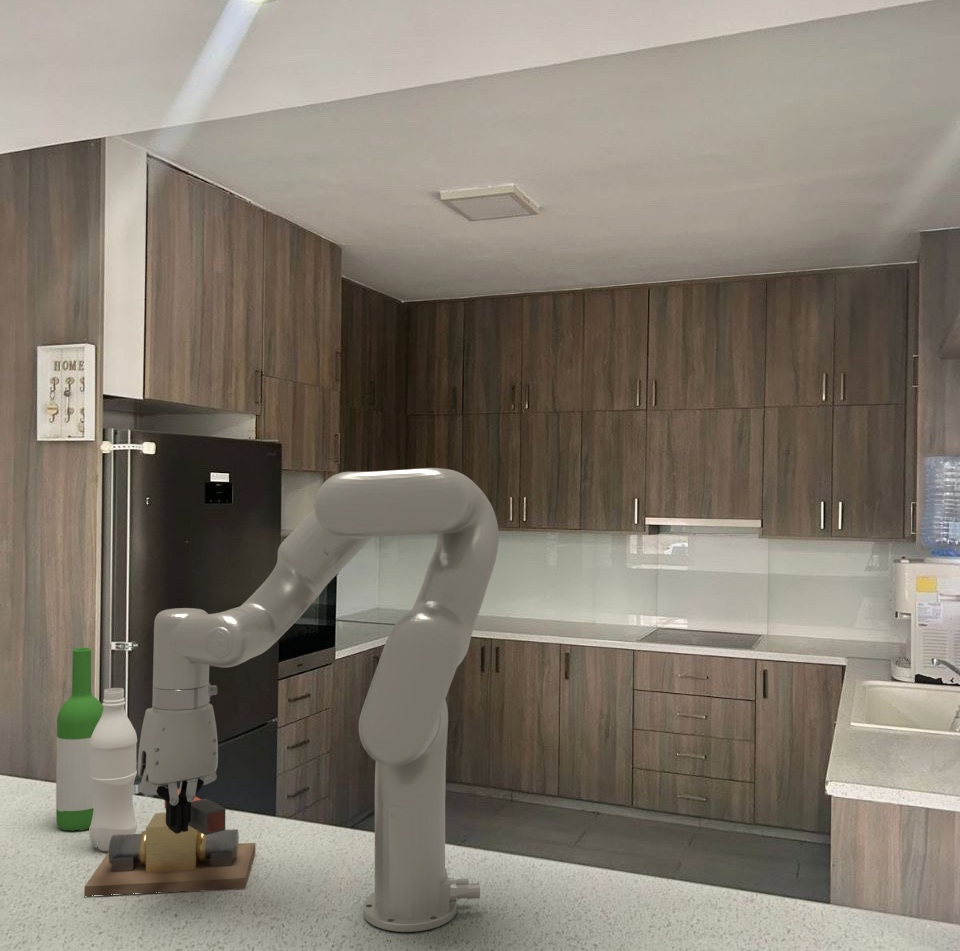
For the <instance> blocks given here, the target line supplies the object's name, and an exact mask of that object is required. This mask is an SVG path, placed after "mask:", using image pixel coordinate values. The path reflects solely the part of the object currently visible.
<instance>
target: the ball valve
mask: <svg viewBox="0 0 960 951" xmlns="http://www.w3.org/2000/svg"><path fill="white" fill-rule="evenodd" d="M239 839H240V838H239V829H238V828H237V829H234V828H233V829H225V830H224V831H220V832H216V833H212V834H208V835H204V834H202V833H201V832H199V831H197V830H195V829H194V828H192V827H190V826H188V831H186V832H183V831H182V832H181V833H178V834H176V833H174V832H173V831H172V830H170V829H169V828H168V826H167V825H166V812H157V813H154V815H153V816H152V818H151V819H150V821H149V823H148V824H147V826H146V828H145V830H143V831H141V833H135V834H125V835H113V836H112V837H111V840H110V845H109V851H108V852H109V862H110V864H112V872H125V871H134V869H135V867H136V866H137V864H138V863H140V865H146V873H156V872H175V871H195V870H196V868H197V866H198V864H199V862H207V861H208V859H211V867H223V866H232V863H233V860H234V858H237V854H238V844H239Z"/></svg>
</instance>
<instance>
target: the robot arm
mask: <svg viewBox="0 0 960 951" xmlns="http://www.w3.org/2000/svg"><path fill="white" fill-rule="evenodd" d="M313 506H314V509H313V510H312V511H311V512H310V513H308V515H307V516H306V517H305V518H304V519H303V520H301V522H300V523H299V524H298V526H297V527H295V528H294V530H293V531H292V532H290V533H289V535H288V536H287V537H286V538H285V539H284V540H283V541H282V542H281V544H280V545H279V546H278V549H277V559H276V560H277V561H276V564H275V567H274V569H273V570H272V571H271V573H270V574H269V575H268V577H267V578H266V579H265V581H264V582H263V583H262V584H261V585H260V586H259V587H258V588H257V589H256V590H255V592H253V593H252V595H250V596H249V598H247V599H246V601H244V602H243V603H242V604H241V605H240V606H238V607H234V608H230V609H227V610H224V611H220V612H216V613H208V612H207V611H205V610H204V609H201V608H193V607H191V608H190V607H182V608H180V607H179V608H167V609H164V610H161V611H159V613H157V615H155V618H154V622H153V623H154V626H153V654H152V655H153V658H152V659H153V664H152V702H151V703H152V705H151V707H149V708H147V709H146V710H145V714H144V715H143V716H144V717H143V722H142V727H141V731H140V732H141V733H140V738H139V745H138V746H139V747H138V756H137V757H138V758H137V761H138V762H137V775H138V777H139V778H140V779H141V781H140V786H139V792H140V793H141V794H143V795H147V796H148V795H150V796H154V795H155V796H156V795H157V796H159V797H160V798H161V799H163V800H164V802H165V801H166V809H165V813H166V825H167V826H168V828H169V829H170V830H172V831H173V832H174V833H176V834H178V833H181V832H182V831H183V832H186V831H188V823H189V822H190V821H191V802H192V801H193V800H194V799H195V797H196V796H197V794H198V792H199V791H200V790H201V788H203V786H206V785H209V784H211V783H213V782H215V781H216V780H217V778H218V776H217V769H218V765H219V764H218V763H219V742H218V732H217V731H218V730H217V729H218V728H217V723H216V717H215V711H214V706H213V704H211V703H210V702H211V697H212V696H214V695H215V696H216V695H217V694H218V690H219V689H218V686H217V685H216V684H214V685H212V684H211V682H210V666H211V667H218V668H231V667H235V666H238V665H241V664H242V663H245V662H248V660H250V659H252V658H255V657H257V656H258V657H259V656H260V655H261V654H263V653H265V652H267V651H268V650H269V649H271V647H272V646H273V645H275V643H277V641H279V639H280V638H282V636H283V635H285V633H286V632H287V631H289V629H290V628H291V627H292V626H293V625H294V624H295V623H296V622H297V621H298V620H299V619H300V618H301V617H302V615H303V614H304V613H305V612H306V611H307V610H308V609H309V607H310V606H311V605H312V604H313V603H314V601H315V600H316V599H317V598H318V597H319V596H320V595H321V594H322V592H323V590H324V589H325V588H326V587H327V586H328V585H329V584H330V583H331V581H332V580H333V579H334V578H335V577H336V576H337V575H338V574H339V573H340V572H341V571H342V569H343V568H344V567H346V565H347V564H349V563H350V562H351V561H352V559H353V558H354V557H355V556H356V555H357V554H359V552H360V551H361V550H362V549H363V548H364V547H365V546H366V545H367V544H368V543H369V542H370V541H371V540H372V539H373V538H377V537H383V538H384V537H399V536H400V537H401V536H425V535H437V536H436V537H437V541H436V546H435V549H434V551H433V554H432V557H431V558H430V561H429V563H428V565H427V568H426V572H425V575H424V580H423V582H422V585H421V587H420V590H419V592H418V595H417V598H416V600H415V602H414V604H413V607H412V609H411V610H410V611H409V612H406V613H405V614H403V616H402V617H401V618H400V619H398V621H397V622H395V624H394V626H392V628H391V631H390V633H389V634H388V637H387V639H386V641H385V644H384V646H383V648H382V652H381V655H380V657H379V659H378V660H379V661H378V663H377V666H376V668H375V671H374V674H373V677H372V680H371V682H370V685H369V687H368V692H367V694H366V696H365V700H364V702H363V705H362V709H361V712H360V715H359V719H358V734H359V739H360V742H361V744H362V747H363V749H364V750H365V751H366V753H367V754H368V756H370V758H371V759H372V760H374V761H375V768H374V770H375V772H374V773H375V774H374V893H372V894H371V895H370V896H368V897H367V898H366V899H365V901H364V902H363V905H362V915H363V917H364V919H365V920H366V922H368V923H369V924H370V925H372V926H374V927H376V928H377V929H378V928H379V929H382V930H385V931H390V932H397V933H399V932H400V933H415V932H422V931H427V930H428V931H429V930H432V929H436V928H438V927H440V926H443V925H445V924H447V923H449V922H450V921H451V920H452V919H453V918H454V917H455V916H456V914H457V913H458V912H457V910H458V908H457V907H458V905H457V904H458V903H457V902H458V900H461V899H463V900H464V899H466V900H473V899H474V900H475V899H477V900H478V899H481V886H480V883H479V882H478V883H477V882H476V883H475V882H474V883H472V882H471V883H470V881H469V878H468V877H467V878H457V879H452V877H449V876H448V872H447V868H446V770H447V768H446V766H447V764H446V763H447V762H446V760H447V746H448V728H449V710H448V704H447V700H446V699H447V696H448V693H449V691H450V687H451V684H452V682H453V679H454V676H455V673H456V671H457V669H458V667H459V666H460V665H461V663H462V662H463V660H464V659H465V657H466V656H467V653H468V650H469V647H470V643H471V639H472V635H473V632H474V628H475V626H476V622H477V619H478V616H479V614H480V610H481V609H482V605H483V602H484V599H485V596H486V593H487V589H488V586H489V583H490V580H491V577H492V574H493V570H494V567H495V564H496V560H497V556H498V551H499V540H500V539H499V538H500V537H499V536H500V533H499V524H498V521H497V516H496V513H495V511H494V507H493V506H492V503H491V502H490V501H489V498H488V497H487V495H485V493H484V492H483V490H482V489H481V488H480V487H479V486H478V485H477V484H476V483H475V482H474V481H473V479H470V478H469V477H468V476H466V475H465V474H463V473H461V472H459V471H456V470H453V469H449V468H439V467H425V468H423V467H422V468H421V467H420V468H408V469H406V468H405V469H390V470H377V471H376V470H375V471H342V472H339V473H337V474H334V475H332V476H330V477H329V478H327V479H326V480H325V481H324V482H323V484H322V485H321V486H320V487H319V489H318V491H317V492H316V496H315V499H314V505H313ZM178 783H180V784H179V788H178V785H177V784H178ZM177 789H179V795H178V790H177Z"/></svg>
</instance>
